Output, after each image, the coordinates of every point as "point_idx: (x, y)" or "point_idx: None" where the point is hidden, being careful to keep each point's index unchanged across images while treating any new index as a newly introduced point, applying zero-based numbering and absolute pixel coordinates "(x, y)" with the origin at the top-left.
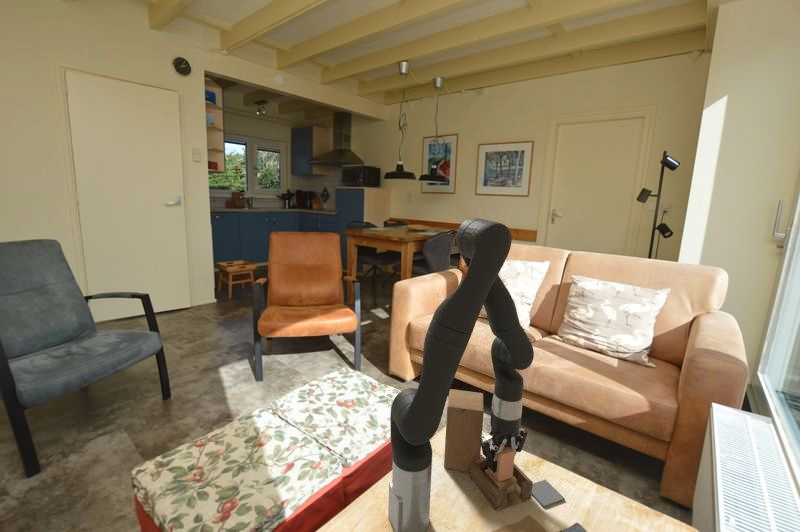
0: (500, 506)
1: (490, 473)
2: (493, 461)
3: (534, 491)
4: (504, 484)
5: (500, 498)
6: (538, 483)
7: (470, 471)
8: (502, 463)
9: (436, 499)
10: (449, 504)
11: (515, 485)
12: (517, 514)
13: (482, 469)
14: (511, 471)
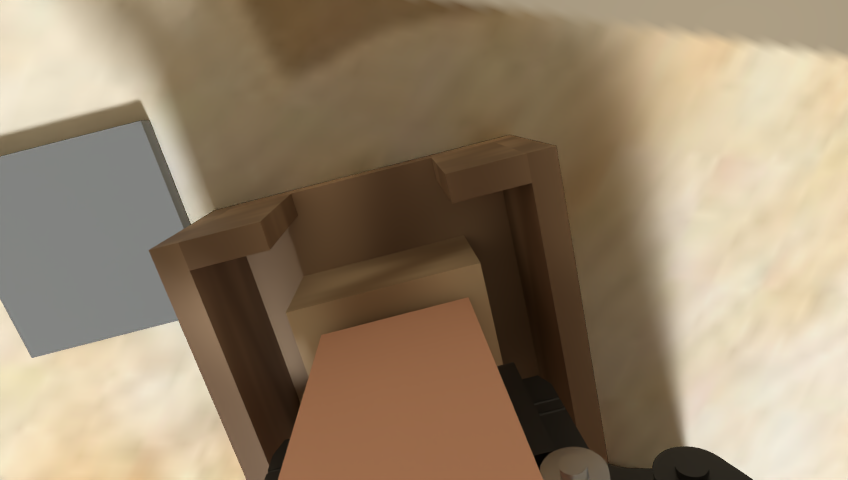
0: (481, 144)
1: None
2: (572, 452)
3: None
4: (416, 277)
5: (503, 150)
6: (102, 325)
7: None
8: (475, 412)
9: (840, 264)
10: (782, 220)
11: (306, 290)
12: (370, 88)
13: None
14: (330, 365)
